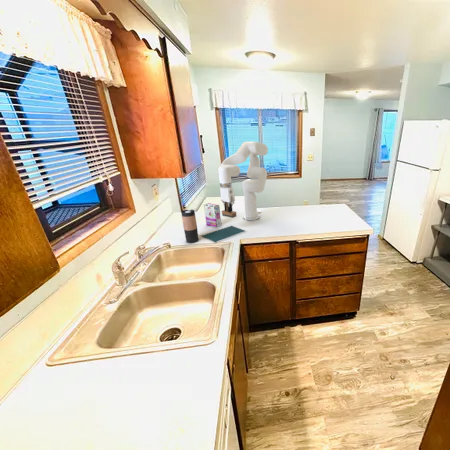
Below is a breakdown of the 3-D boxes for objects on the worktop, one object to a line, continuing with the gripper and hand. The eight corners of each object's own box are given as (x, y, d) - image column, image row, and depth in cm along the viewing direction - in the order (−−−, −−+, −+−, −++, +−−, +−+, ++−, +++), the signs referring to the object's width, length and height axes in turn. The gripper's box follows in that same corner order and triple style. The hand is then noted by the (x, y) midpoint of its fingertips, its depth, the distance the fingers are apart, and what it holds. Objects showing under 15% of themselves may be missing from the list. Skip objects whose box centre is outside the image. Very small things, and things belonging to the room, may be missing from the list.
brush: (226, 214, 172) (224, 201, 169) (236, 216, 168) (235, 203, 164) (222, 215, 169) (220, 202, 165) (232, 218, 164) (231, 204, 161)
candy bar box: (222, 225, 179) (219, 204, 174) (217, 227, 175) (214, 206, 169) (211, 223, 184) (208, 202, 178) (206, 225, 180) (203, 204, 174)
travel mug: (190, 244, 148) (186, 213, 141) (183, 241, 152) (178, 211, 145) (201, 240, 154) (197, 210, 147) (194, 237, 158) (189, 208, 151)
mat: (231, 226, 178) (231, 225, 178) (245, 231, 169) (245, 230, 169) (202, 236, 160) (202, 235, 160) (216, 242, 151) (216, 241, 151)
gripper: (238, 185, 158) (240, 212, 165) (223, 182, 167) (226, 207, 174) (228, 187, 153) (231, 214, 159) (213, 184, 162) (217, 210, 169)
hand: (228, 210), depth 167 cm, fingers closed on brush, 3 cm apart
